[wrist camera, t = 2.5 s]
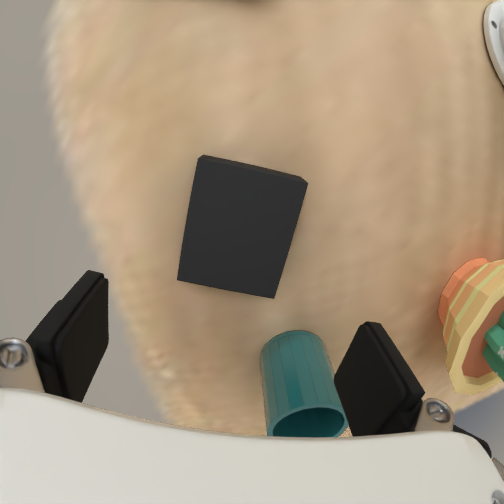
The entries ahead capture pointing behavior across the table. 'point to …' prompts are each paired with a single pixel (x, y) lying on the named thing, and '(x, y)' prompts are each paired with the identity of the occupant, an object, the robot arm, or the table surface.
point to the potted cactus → (474, 325)
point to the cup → (300, 388)
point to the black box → (239, 226)
